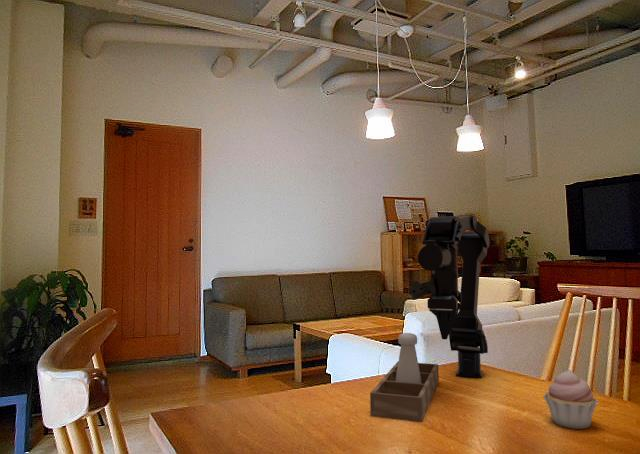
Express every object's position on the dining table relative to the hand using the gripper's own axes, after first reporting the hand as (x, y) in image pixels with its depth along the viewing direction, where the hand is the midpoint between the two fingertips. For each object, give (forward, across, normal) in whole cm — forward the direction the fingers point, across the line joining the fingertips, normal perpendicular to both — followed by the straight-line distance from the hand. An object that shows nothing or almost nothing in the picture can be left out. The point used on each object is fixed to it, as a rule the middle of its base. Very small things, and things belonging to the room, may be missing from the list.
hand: (446, 335), depth 111 cm
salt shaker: (+12, +7, -8) cm, 16 cm away
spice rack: (+13, +7, -8) cm, 17 cm away
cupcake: (+13, +13, +24) cm, 30 cm away
